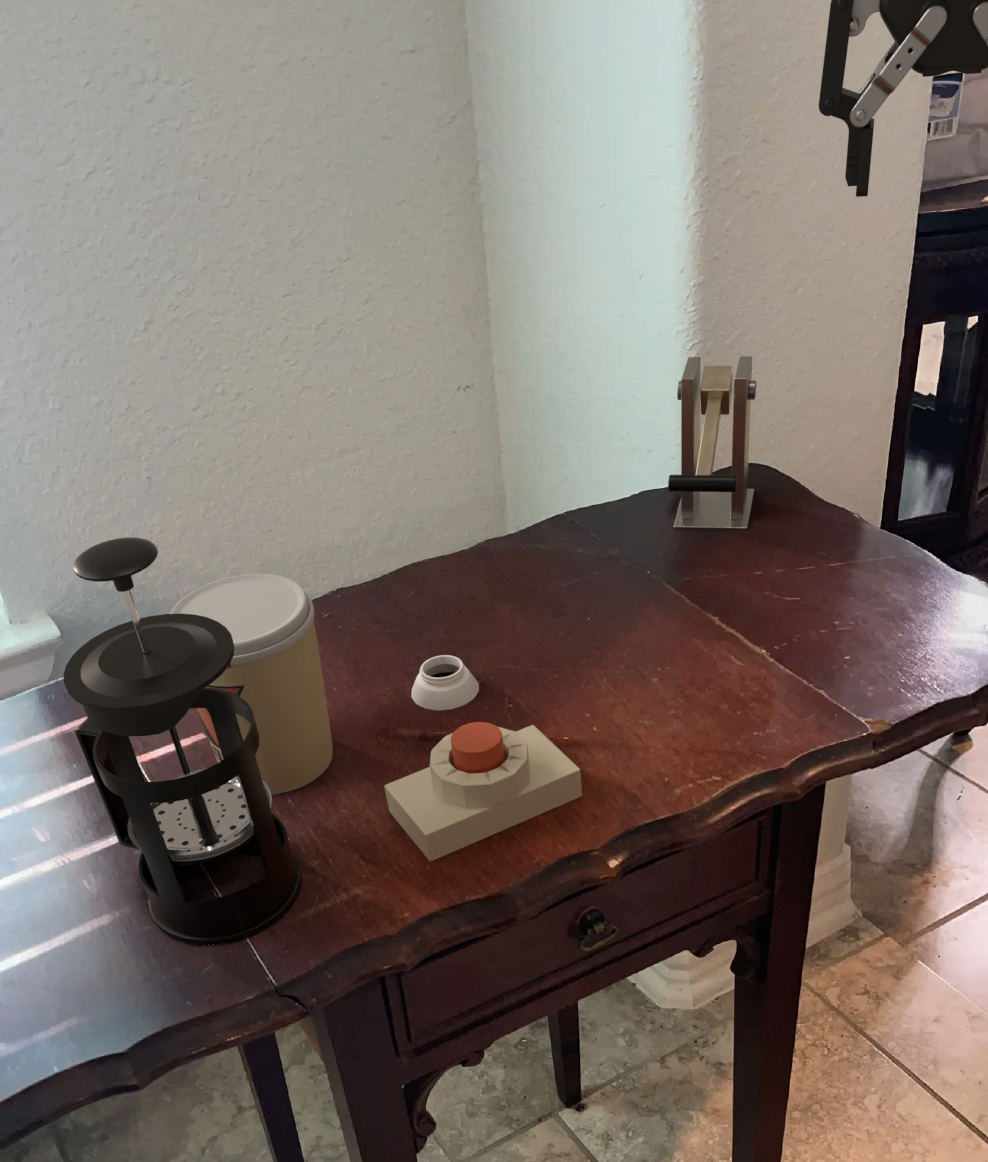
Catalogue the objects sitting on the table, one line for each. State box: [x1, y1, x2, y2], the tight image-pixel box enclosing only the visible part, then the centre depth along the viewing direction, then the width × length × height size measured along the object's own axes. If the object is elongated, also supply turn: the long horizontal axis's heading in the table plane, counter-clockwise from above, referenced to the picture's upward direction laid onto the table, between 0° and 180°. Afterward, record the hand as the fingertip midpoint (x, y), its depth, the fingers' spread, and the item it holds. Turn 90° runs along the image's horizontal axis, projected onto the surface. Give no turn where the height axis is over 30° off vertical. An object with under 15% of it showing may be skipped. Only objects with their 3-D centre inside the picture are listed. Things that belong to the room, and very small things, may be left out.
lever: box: [667, 365, 737, 493], centre depth 97 cm, size 12×5×2 cm, turn 167°
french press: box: [63, 536, 303, 946], centre depth 70 cm, size 12×9×23 cm
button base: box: [383, 724, 583, 862], centre depth 80 cm, size 11×6×4 cm, turn 119°
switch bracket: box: [672, 355, 757, 531], centre depth 102 cm, size 7×6×13 cm
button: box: [451, 721, 505, 774], centre depth 78 cm, size 3×3×2 cm
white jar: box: [410, 654, 480, 711], centre depth 90 cm, size 5×3×5 cm
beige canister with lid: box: [169, 573, 334, 796], centre depth 83 cm, size 9×9×12 cm
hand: (936, 190), depth 75 cm, fingers open, 8 cm apart
